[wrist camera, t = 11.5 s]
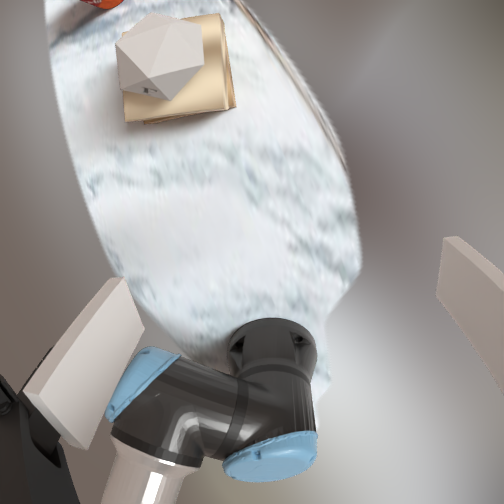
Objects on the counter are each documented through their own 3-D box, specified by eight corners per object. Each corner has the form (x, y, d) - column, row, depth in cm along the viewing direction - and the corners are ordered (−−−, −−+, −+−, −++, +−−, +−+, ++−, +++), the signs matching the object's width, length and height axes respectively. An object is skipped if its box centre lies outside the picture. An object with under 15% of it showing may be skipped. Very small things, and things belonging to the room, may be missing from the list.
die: (123, 63, 26) (95, 109, 21) (144, -4, 19) (112, 22, 15) (191, 79, 29) (180, 127, 25) (221, 16, 23) (216, 47, 18)
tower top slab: (228, 109, 31) (223, 108, 28) (139, 121, 32) (125, 121, 28) (224, 24, 27) (219, 13, 23) (135, 39, 28) (121, 32, 24)
